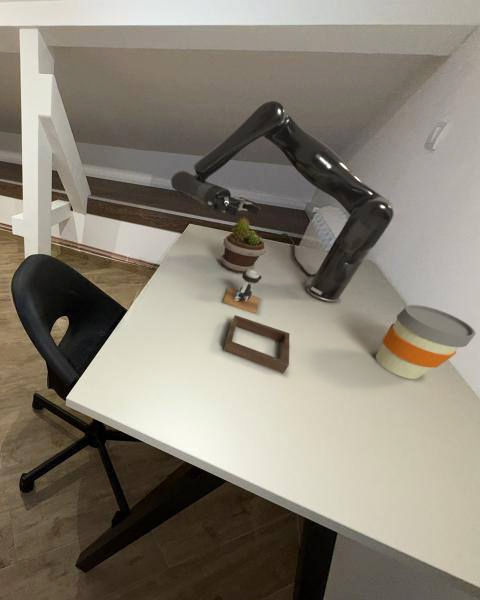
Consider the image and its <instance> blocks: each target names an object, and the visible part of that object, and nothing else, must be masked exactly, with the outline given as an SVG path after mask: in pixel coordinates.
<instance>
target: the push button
mask: <svg viewBox="0 0 480 600" xmlns="http://www.w3.org/2000/svg"><path fill="white" fill-rule="evenodd" d="M241 278H242V279H243V281H244V282H243V285H242V286H241V287H240V289H239V292H238V293H237V296H236V297H235V301H239V302H241V301H243V300H245V301H247V300H248V299H249V298H250V296H251V295H252V294H253V292H252V291H251V289H252V286H253V284H257V283H259V282H260V280H262V278H263V277H262V276H261V273H260V271H258V270H255V269H249V270H247V271H244V272H243V273H242V276H241Z"/></svg>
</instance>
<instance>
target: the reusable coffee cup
mask: <svg viewBox="0 0 480 600" xmlns="http://www.w3.org/2000/svg"><path fill="white" fill-rule="evenodd" d="M475 336H476V331H475V329H474V328H473V327H472V326H471V325H469V324H468V323H467V322H466V321H464V320H462V319H460V318H458V317H456V316H455V315H453V314H450V313H447V312H445V311H442V310H440V309H436V308H434V307H430V306H427V305H420V304H408V305H406V306H405V307H404V308H403V309H402V310H401V311H400V312H399V313H398V314H397V315H396V320H395V322H394V323H391V325H390V326H389V328H388V330H387V332H386V333H385V335H384V337H383V339H382V345H381V346H380V348H379V350H378V351H377V353H376V355H375V359H376V361H377V363H378V364H379V365H380V366H382V368H384V369H385V370H387V371H388V372H391V373H393V374H394V375H397V376H399V377H402V378H405V379H410V380H411V379H412V380H416V379H419V378H420V377H422V376H423V375H424V374H426V373H427V372H428V371H430V370H432V369H434V368H438V367H440V366H441V365H442V364H444V363H445V362H447V361H448V360H450V359H451V358H452V357H454V356H455V355H457V351H458V350H459V349H461V348H464V347H467V346H468V345H469V344H470V342H471V341H472V339H473V338H474V337H475Z"/></svg>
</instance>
